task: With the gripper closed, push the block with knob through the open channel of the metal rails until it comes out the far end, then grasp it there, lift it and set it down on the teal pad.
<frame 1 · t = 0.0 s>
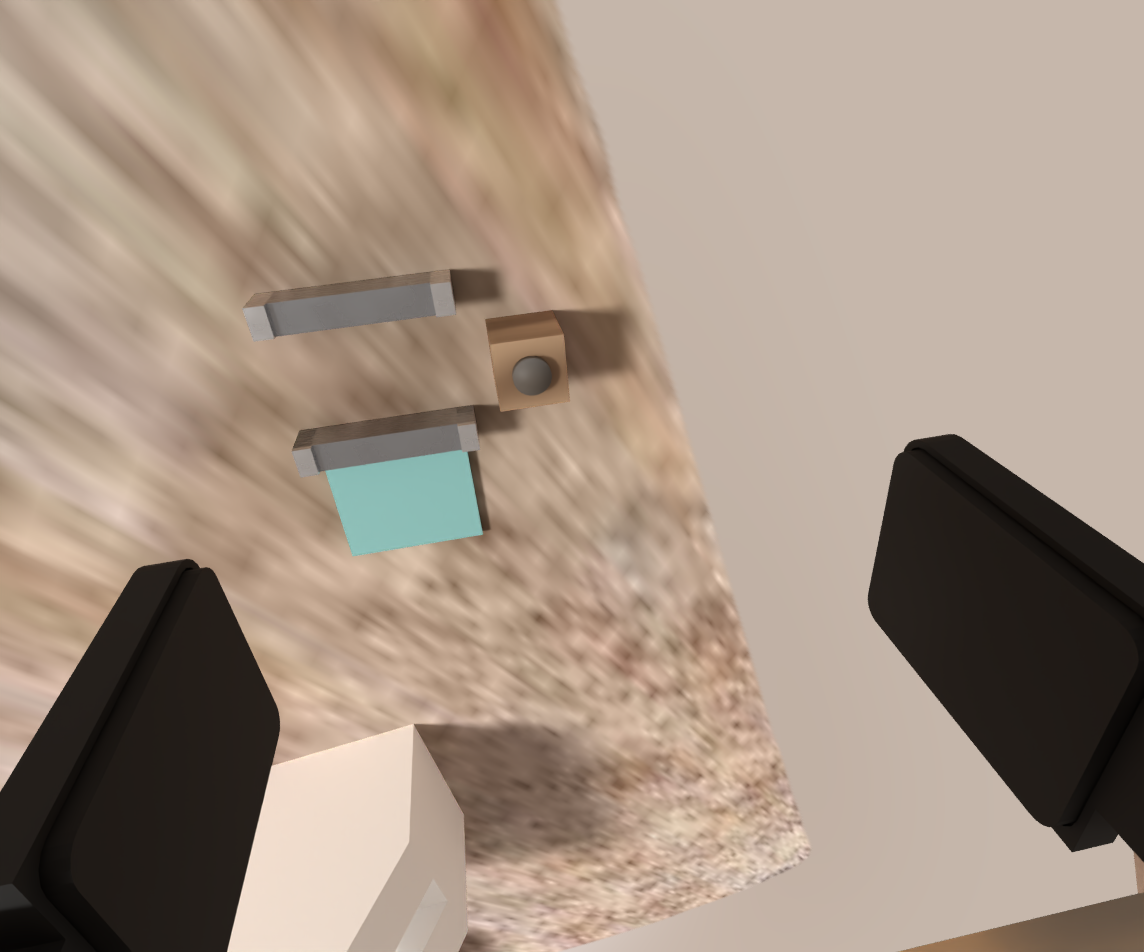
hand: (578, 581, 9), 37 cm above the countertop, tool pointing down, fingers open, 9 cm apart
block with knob: (522, 346, 46), on the countertop
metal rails: (374, 367, 45), on the countertop
pad: (407, 498, 50), on the countertop
milk carton: (346, 797, 67), on the countertop
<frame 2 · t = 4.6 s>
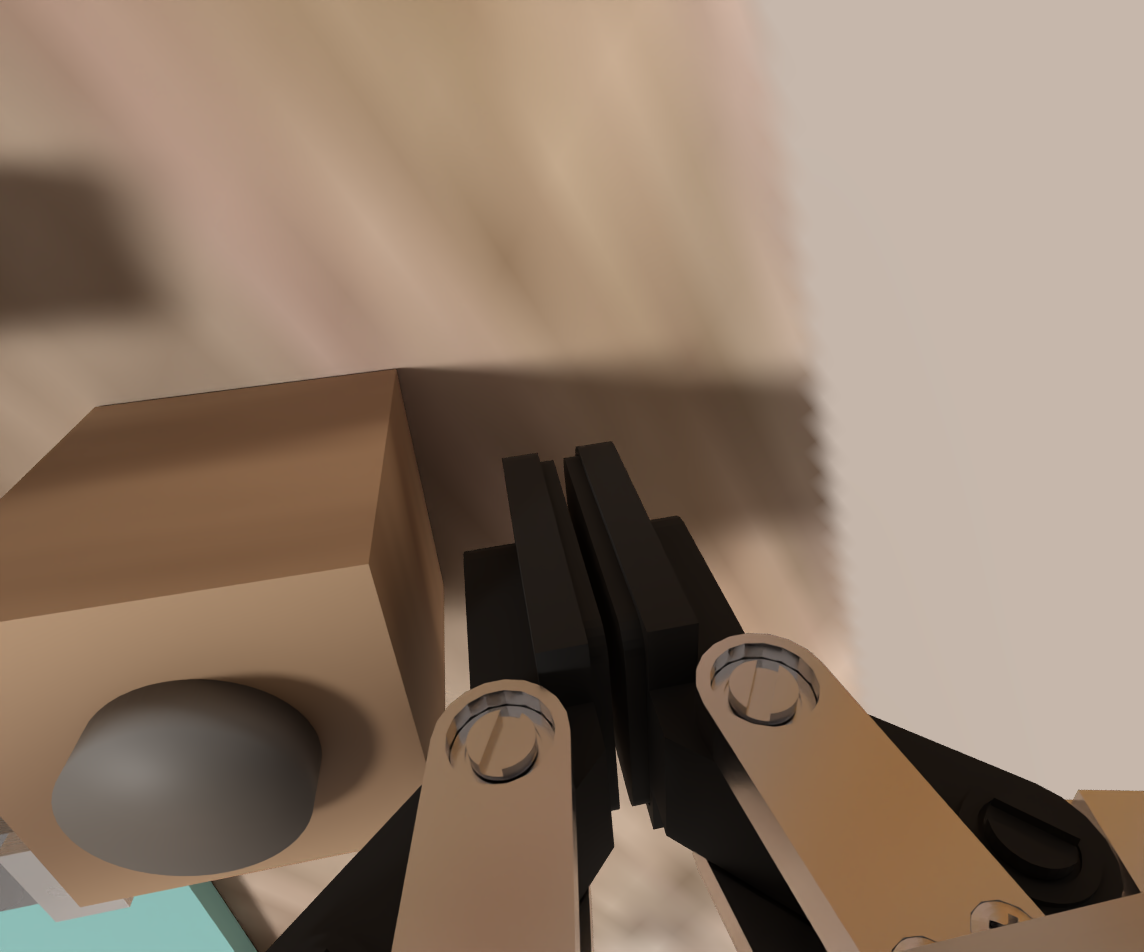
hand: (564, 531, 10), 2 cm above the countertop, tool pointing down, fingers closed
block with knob: (290, 507, 12), on the countertop, touching gripper
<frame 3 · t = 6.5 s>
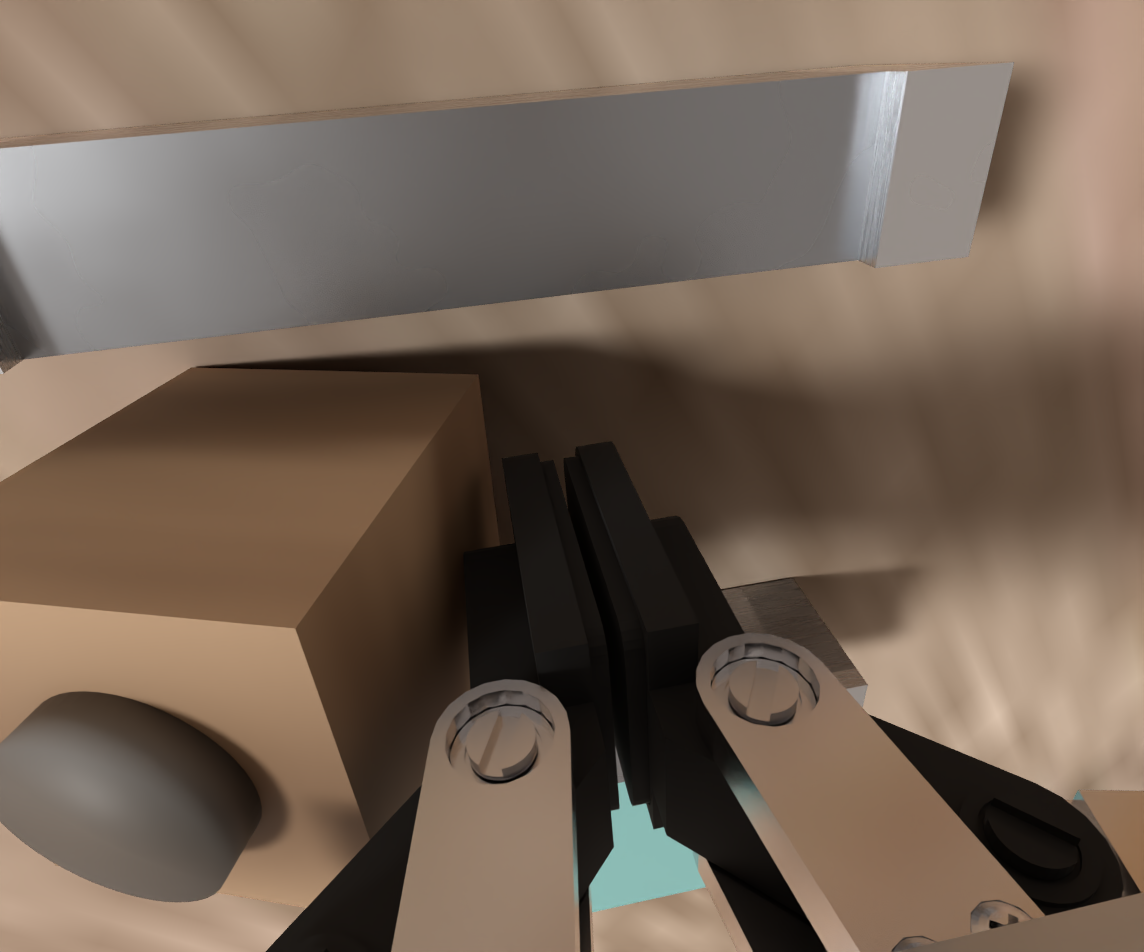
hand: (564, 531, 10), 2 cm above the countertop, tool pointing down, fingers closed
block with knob: (361, 500, 11), point 1 cm above the countertop, tilted 19°, touching gripper
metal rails: (494, 470, 12), on the countertop
pad: (546, 816, 17), on the countertop
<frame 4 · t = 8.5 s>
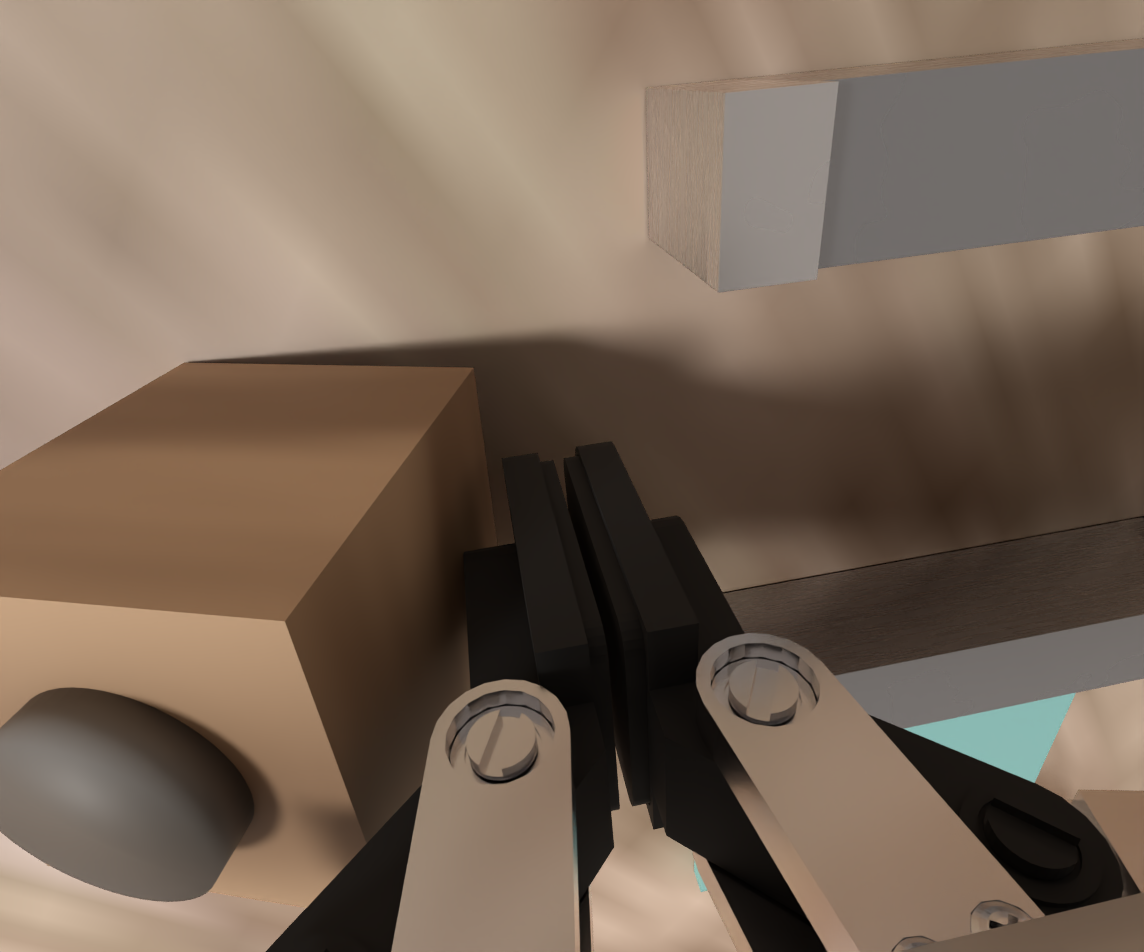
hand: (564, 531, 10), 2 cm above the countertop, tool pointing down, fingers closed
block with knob: (357, 496, 11), point 1 cm above the countertop, tilted 19°, touching gripper
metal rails: (957, 403, 13), on the countertop
pad: (873, 751, 18), on the countertop
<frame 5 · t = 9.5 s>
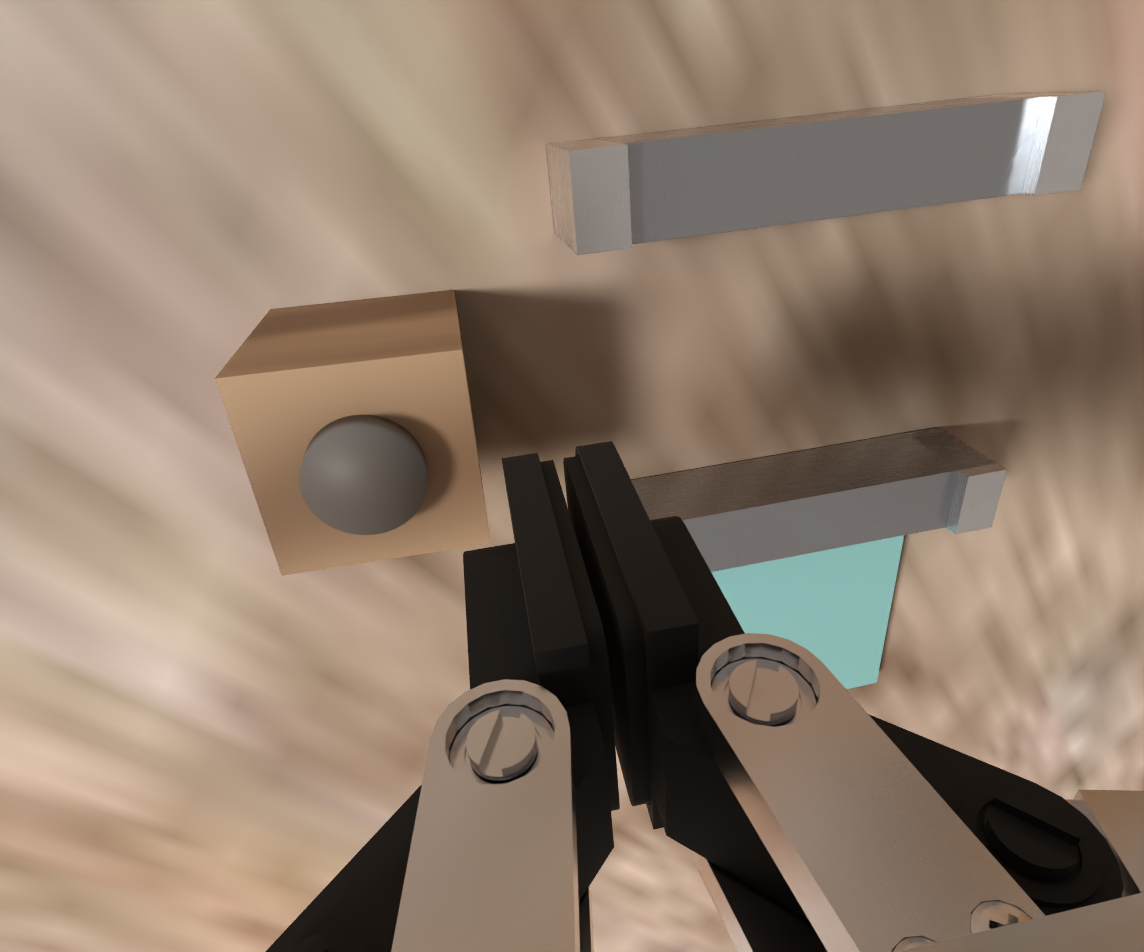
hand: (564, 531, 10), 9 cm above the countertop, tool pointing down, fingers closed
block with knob: (382, 382, 18), on the countertop
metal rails: (771, 342, 19), on the countertop
pad: (755, 619, 25), on the countertop
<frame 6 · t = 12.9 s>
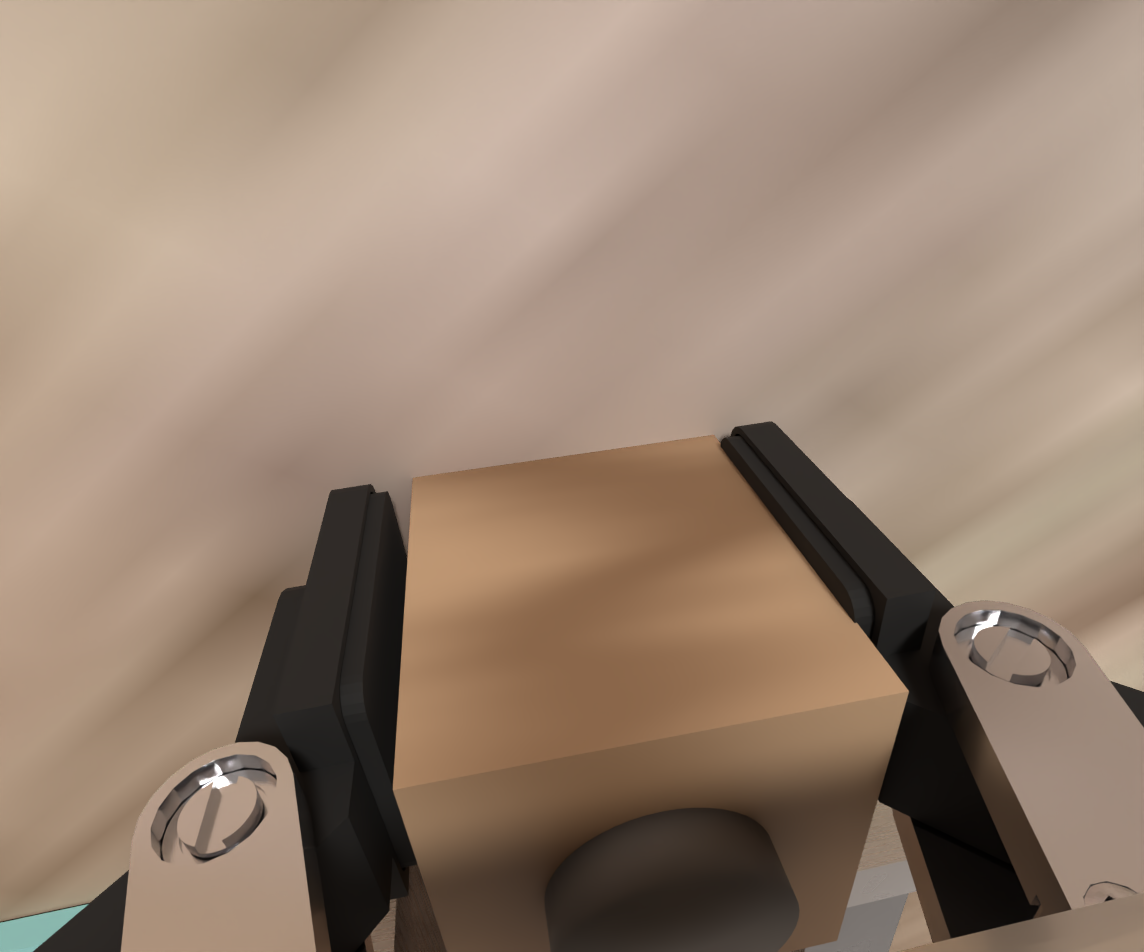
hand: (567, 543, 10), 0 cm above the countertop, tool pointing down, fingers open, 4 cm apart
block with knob: (576, 573, 11), on the countertop, touching gripper
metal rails: (604, 917, 17), on the countertop
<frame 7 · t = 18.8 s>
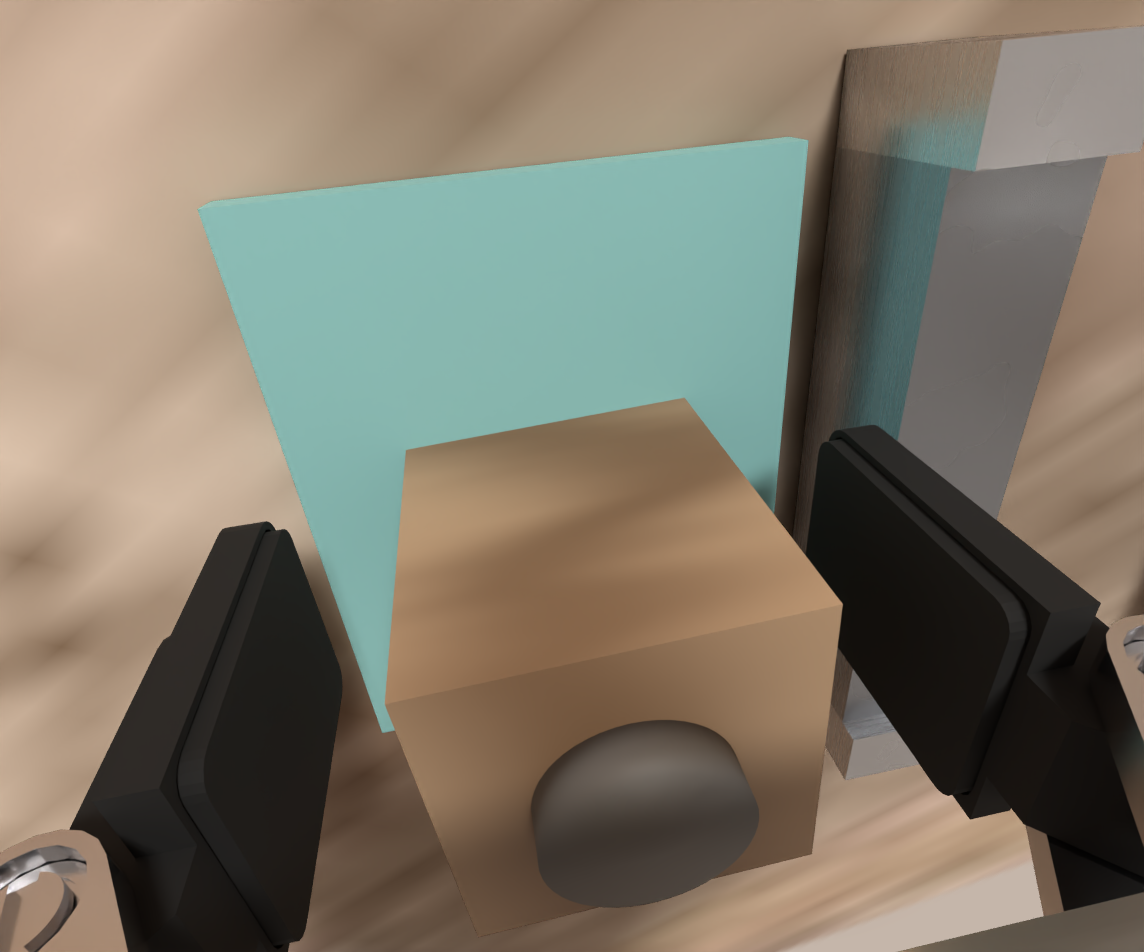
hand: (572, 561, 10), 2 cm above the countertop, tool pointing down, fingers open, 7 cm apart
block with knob: (565, 536, 12), point 1 cm above the countertop, touching pad
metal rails: (1086, 390, 13), on the countertop
pad: (549, 476, 12), on the countertop
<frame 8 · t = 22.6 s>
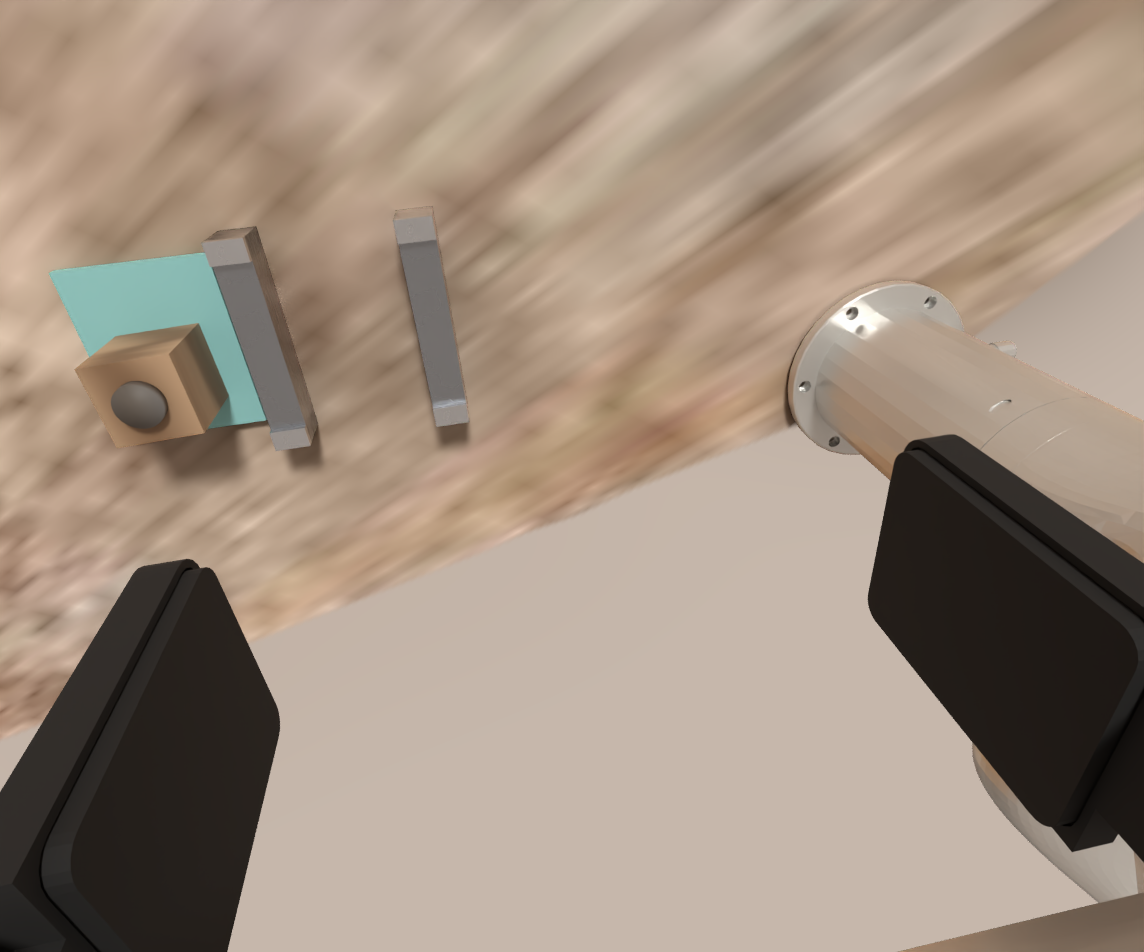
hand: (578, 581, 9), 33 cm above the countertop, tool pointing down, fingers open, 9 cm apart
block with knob: (174, 366, 39), point 1 cm above the countertop, touching pad
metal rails: (354, 324, 40), on the countertop
pad: (169, 348, 39), on the countertop
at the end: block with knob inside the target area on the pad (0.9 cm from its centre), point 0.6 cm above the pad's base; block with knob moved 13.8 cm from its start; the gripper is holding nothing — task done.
